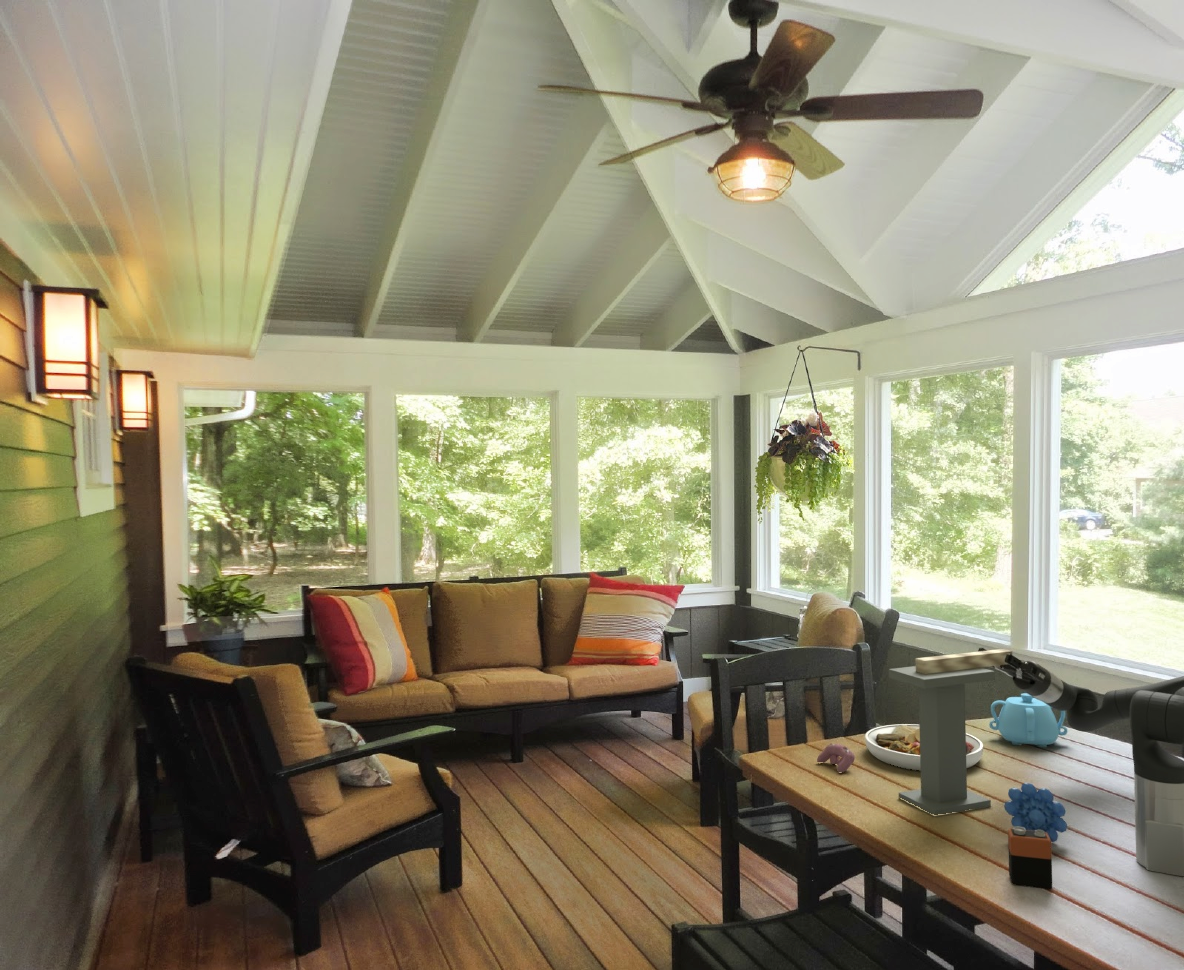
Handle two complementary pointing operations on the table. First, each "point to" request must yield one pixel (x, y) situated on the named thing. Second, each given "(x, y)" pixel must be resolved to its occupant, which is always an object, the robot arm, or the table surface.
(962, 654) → the birch rod
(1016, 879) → the battery
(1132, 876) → the table surface
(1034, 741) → the decorative pot
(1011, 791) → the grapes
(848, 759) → the video game controller
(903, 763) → the bowl
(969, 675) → the plant stand
